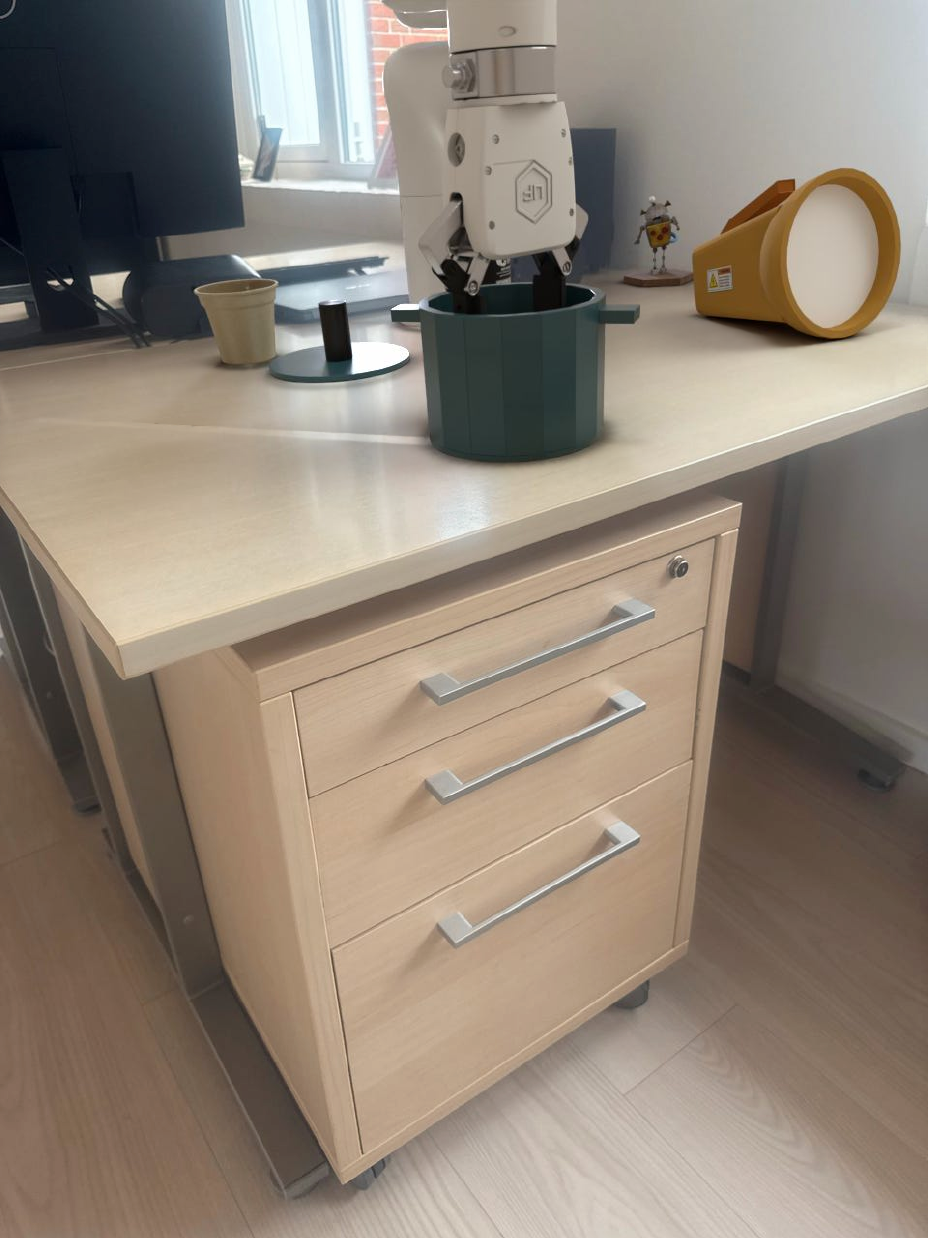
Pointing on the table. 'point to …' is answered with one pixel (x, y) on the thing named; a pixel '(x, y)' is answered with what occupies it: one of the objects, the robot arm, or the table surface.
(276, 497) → the table surface
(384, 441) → the table surface
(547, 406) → the pot
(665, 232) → the robot figurine
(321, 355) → the lid
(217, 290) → the flower pot
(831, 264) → the flared yellow plastic housing
